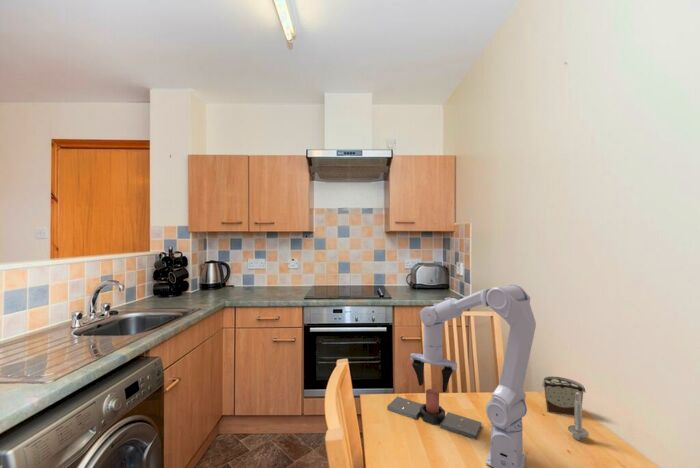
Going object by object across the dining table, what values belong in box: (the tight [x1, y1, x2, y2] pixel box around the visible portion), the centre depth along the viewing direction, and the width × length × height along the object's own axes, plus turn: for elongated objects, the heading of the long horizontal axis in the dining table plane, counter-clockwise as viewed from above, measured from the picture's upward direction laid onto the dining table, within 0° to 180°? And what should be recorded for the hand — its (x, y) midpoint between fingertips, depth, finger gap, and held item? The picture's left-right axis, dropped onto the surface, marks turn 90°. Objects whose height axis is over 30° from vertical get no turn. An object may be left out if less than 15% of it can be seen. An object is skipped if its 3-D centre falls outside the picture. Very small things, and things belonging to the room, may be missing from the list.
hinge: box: [386, 396, 482, 440], centre depth 98 cm, size 8×28×2 cm, turn 57°
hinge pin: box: [425, 388, 440, 415], centre depth 98 cm, size 4×4×8 cm
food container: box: [541, 376, 586, 417], centre depth 104 cm, size 12×6×10 cm, turn 74°
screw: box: [567, 392, 590, 442], centre depth 89 cm, size 13×5×5 cm
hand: (432, 387), depth 98 cm, fingers open, 7 cm apart
